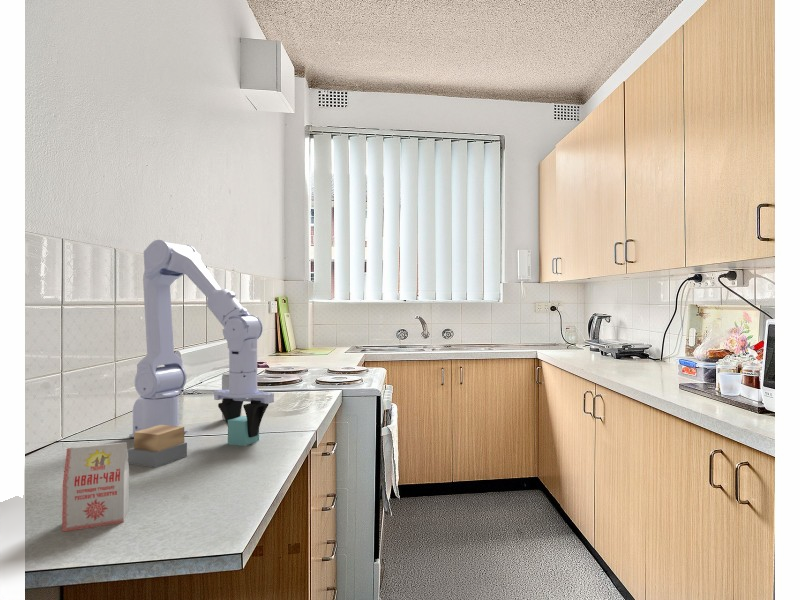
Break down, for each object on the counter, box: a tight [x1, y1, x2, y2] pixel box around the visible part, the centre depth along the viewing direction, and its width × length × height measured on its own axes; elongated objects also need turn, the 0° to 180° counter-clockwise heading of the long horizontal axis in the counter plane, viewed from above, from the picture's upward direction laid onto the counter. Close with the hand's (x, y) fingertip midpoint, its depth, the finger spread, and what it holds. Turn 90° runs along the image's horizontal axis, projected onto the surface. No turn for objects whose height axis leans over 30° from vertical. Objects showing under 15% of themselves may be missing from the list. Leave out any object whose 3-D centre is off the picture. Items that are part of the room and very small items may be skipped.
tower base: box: [127, 441, 188, 469], centre depth 87 cm, size 7×7×3 cm
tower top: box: [133, 425, 185, 451], centre depth 88 cm, size 6×6×3 cm
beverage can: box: [221, 371, 243, 422], centre depth 120 cm, size 5×5×12 cm
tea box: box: [61, 441, 130, 532], centre depth 61 cm, size 4×7×10 cm, turn 111°
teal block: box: [227, 415, 260, 447], centre depth 99 cm, size 4×4×5 cm
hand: (243, 435), depth 99 cm, fingers closed on teal block, 4 cm apart
